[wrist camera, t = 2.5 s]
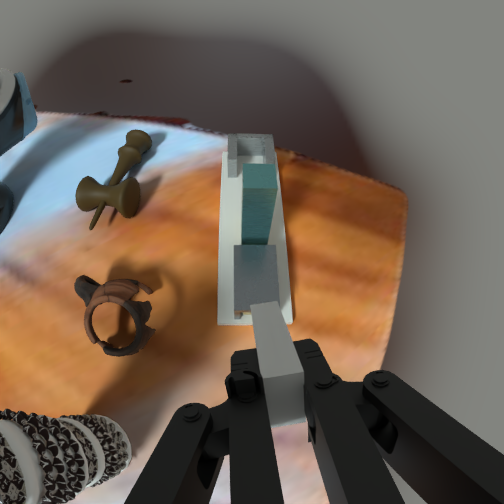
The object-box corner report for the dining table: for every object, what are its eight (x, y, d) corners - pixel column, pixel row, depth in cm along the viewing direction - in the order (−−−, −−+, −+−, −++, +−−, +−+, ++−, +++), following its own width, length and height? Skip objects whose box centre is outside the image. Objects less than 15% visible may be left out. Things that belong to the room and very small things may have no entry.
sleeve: (276, 318, 35) (280, 309, 32) (234, 319, 35) (233, 310, 31) (272, 258, 39) (275, 244, 35) (233, 259, 38) (233, 244, 35)
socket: (272, 178, 45) (275, 160, 42) (227, 177, 45) (227, 159, 41) (270, 152, 48) (272, 134, 44) (228, 151, 48) (228, 133, 44)
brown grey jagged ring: (176, 295, 37) (162, 310, 29) (148, 353, 37) (131, 379, 29) (100, 252, 36) (71, 256, 28) (78, 310, 36) (49, 326, 28)
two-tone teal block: (268, 314, 35) (285, 268, 23) (241, 314, 35) (244, 268, 23) (263, 216, 41) (273, 145, 30) (240, 216, 41) (242, 144, 29)
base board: (291, 324, 36) (292, 322, 35) (218, 325, 35) (217, 323, 34) (275, 156, 49) (276, 152, 48) (222, 155, 48) (222, 151, 48)
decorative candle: (68, 460, 25) (-80, 478, 3) (77, 401, 29) (-83, 370, 7) (129, 488, 24) (1, 563, 2) (139, 425, 29) (-11, 447, 7)
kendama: (167, 151, 50) (124, 245, 40) (122, 149, 50) (74, 237, 40) (161, 125, 44) (109, 221, 35) (114, 125, 45) (57, 214, 35)
